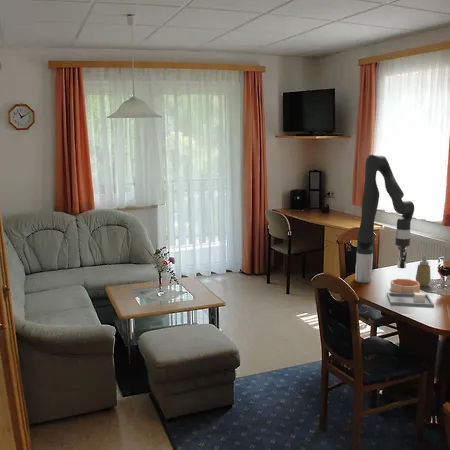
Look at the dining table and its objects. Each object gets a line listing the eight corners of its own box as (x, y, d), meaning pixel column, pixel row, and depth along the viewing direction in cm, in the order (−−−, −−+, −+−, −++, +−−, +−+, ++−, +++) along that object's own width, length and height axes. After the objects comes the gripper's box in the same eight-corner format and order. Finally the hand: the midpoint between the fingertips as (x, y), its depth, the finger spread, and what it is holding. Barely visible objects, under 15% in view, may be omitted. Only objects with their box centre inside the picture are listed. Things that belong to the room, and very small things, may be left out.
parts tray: (390, 305, 261) (390, 302, 261) (386, 295, 277) (386, 292, 276) (433, 308, 258) (434, 304, 257) (427, 297, 273) (427, 294, 273)
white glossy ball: (397, 268, 281) (398, 261, 280) (396, 266, 285) (397, 259, 284) (406, 268, 280) (406, 261, 279) (404, 266, 284) (405, 259, 283)
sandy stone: (414, 302, 265) (415, 294, 264) (413, 299, 268) (413, 292, 268) (424, 302, 264) (425, 295, 263) (423, 300, 268) (423, 292, 267)
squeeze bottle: (429, 283, 297) (431, 254, 294) (430, 287, 290) (432, 257, 286) (415, 282, 300) (417, 253, 297) (415, 286, 292) (417, 256, 289)
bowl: (393, 294, 279) (393, 285, 278) (389, 286, 293) (389, 278, 292) (421, 296, 276) (421, 287, 275) (415, 287, 290) (416, 279, 289)
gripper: (393, 234, 287) (392, 263, 290) (397, 239, 273) (396, 270, 276) (407, 234, 285) (406, 263, 289) (412, 239, 272) (410, 270, 275)
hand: (401, 266), depth 282 cm, fingers closed on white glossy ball, 4 cm apart
